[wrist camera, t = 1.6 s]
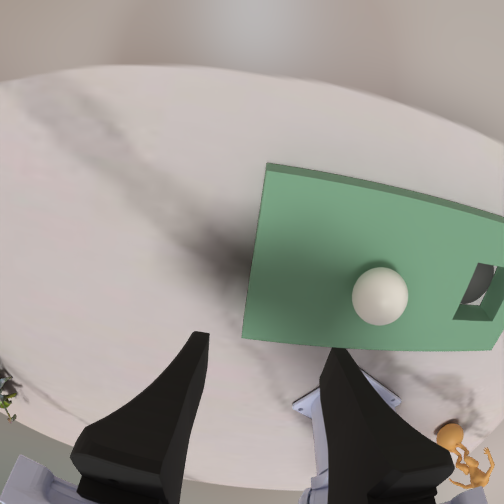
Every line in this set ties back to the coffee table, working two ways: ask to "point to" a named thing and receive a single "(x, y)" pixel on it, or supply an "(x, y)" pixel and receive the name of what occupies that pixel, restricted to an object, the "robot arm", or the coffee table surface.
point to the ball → (380, 296)
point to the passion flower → (6, 399)
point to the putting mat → (371, 265)
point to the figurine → (450, 440)
